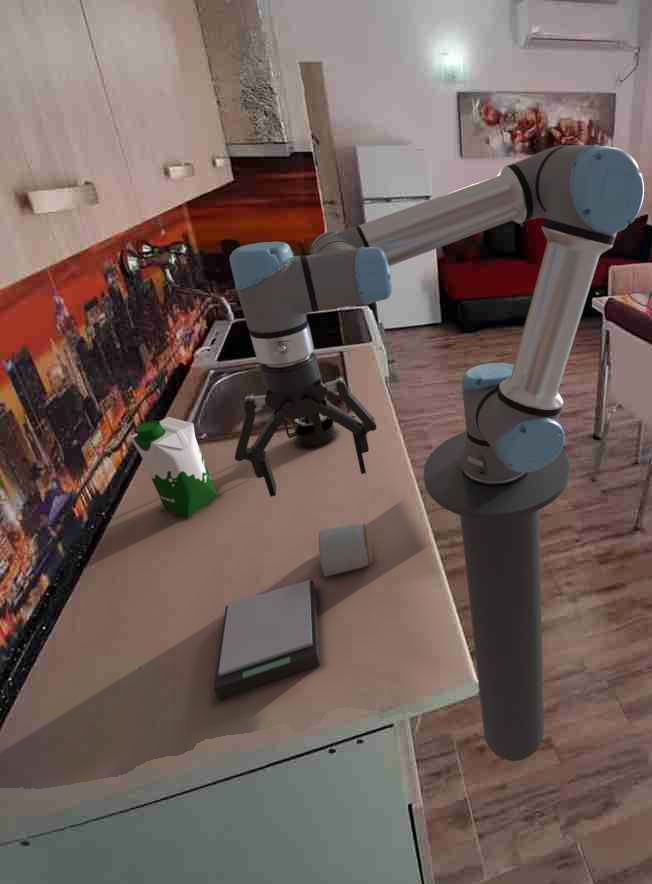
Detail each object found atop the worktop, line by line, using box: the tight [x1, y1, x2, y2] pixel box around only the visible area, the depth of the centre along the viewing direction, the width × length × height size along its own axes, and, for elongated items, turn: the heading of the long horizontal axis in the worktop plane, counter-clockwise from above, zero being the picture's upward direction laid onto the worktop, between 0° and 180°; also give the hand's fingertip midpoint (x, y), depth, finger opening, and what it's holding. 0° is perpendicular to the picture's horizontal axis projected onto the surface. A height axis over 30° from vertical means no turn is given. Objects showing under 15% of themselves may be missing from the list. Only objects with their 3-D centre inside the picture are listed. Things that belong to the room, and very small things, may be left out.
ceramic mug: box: [318, 523, 373, 577], centre depth 88 cm, size 11×8×8 cm
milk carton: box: [129, 416, 219, 518], centre depth 101 cm, size 9×9×20 cm
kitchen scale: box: [213, 579, 321, 701], centre depth 75 cm, size 13×14×3 cm
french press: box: [282, 370, 337, 449], centre depth 121 cm, size 12×9×23 cm
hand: (319, 479), depth 81 cm, fingers open, 13 cm apart
